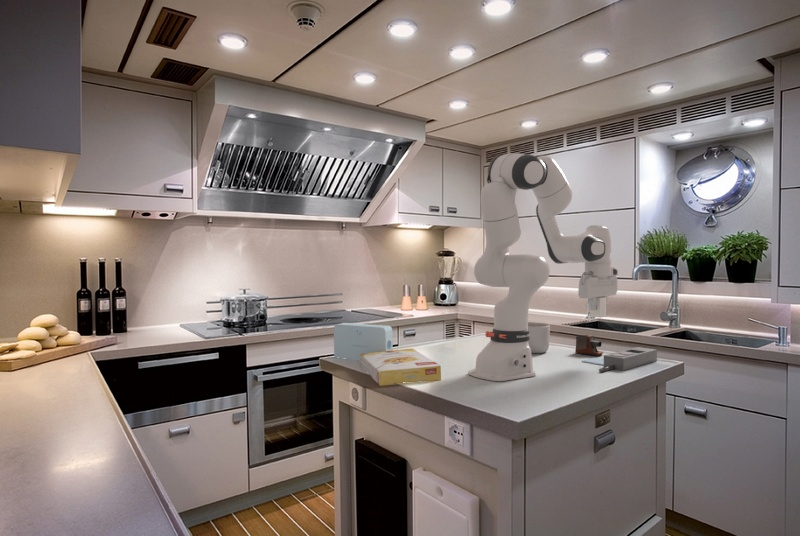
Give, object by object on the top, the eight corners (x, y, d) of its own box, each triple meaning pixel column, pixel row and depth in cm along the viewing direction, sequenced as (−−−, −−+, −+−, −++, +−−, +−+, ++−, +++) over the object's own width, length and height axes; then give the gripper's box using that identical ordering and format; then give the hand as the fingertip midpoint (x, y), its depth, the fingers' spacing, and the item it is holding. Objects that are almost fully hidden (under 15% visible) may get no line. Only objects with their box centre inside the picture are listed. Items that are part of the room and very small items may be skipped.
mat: (602, 365, 169) (602, 364, 169) (581, 361, 175) (581, 360, 175) (614, 362, 174) (614, 361, 174) (593, 358, 180) (593, 357, 180)
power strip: (610, 374, 156) (610, 361, 156) (590, 370, 161) (590, 358, 161) (656, 360, 176) (656, 349, 176) (637, 357, 181) (637, 346, 181)
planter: (554, 354, 189) (554, 326, 189) (522, 354, 189) (522, 327, 189) (544, 348, 202) (544, 322, 201) (514, 349, 201) (514, 322, 201)
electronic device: (598, 357, 183) (598, 337, 183) (574, 354, 190) (574, 334, 190) (603, 355, 186) (603, 335, 186) (579, 352, 193) (579, 333, 193)
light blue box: (332, 358, 186) (332, 324, 186) (341, 356, 191) (341, 322, 191) (384, 364, 175) (384, 328, 174) (392, 361, 180) (392, 326, 180)
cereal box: (412, 347, 178) (442, 363, 151) (413, 362, 178) (442, 380, 151) (359, 352, 172) (379, 369, 145) (359, 368, 172) (380, 388, 145)
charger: (600, 317, 172) (600, 297, 171) (589, 316, 175) (589, 296, 175) (606, 316, 174) (606, 296, 174) (595, 315, 177) (595, 295, 177)
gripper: (590, 272, 165) (590, 312, 165) (620, 270, 178) (620, 307, 178) (573, 271, 170) (573, 311, 170) (604, 270, 183) (604, 306, 183)
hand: (598, 309), depth 174 cm, fingers closed on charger, 4 cm apart
